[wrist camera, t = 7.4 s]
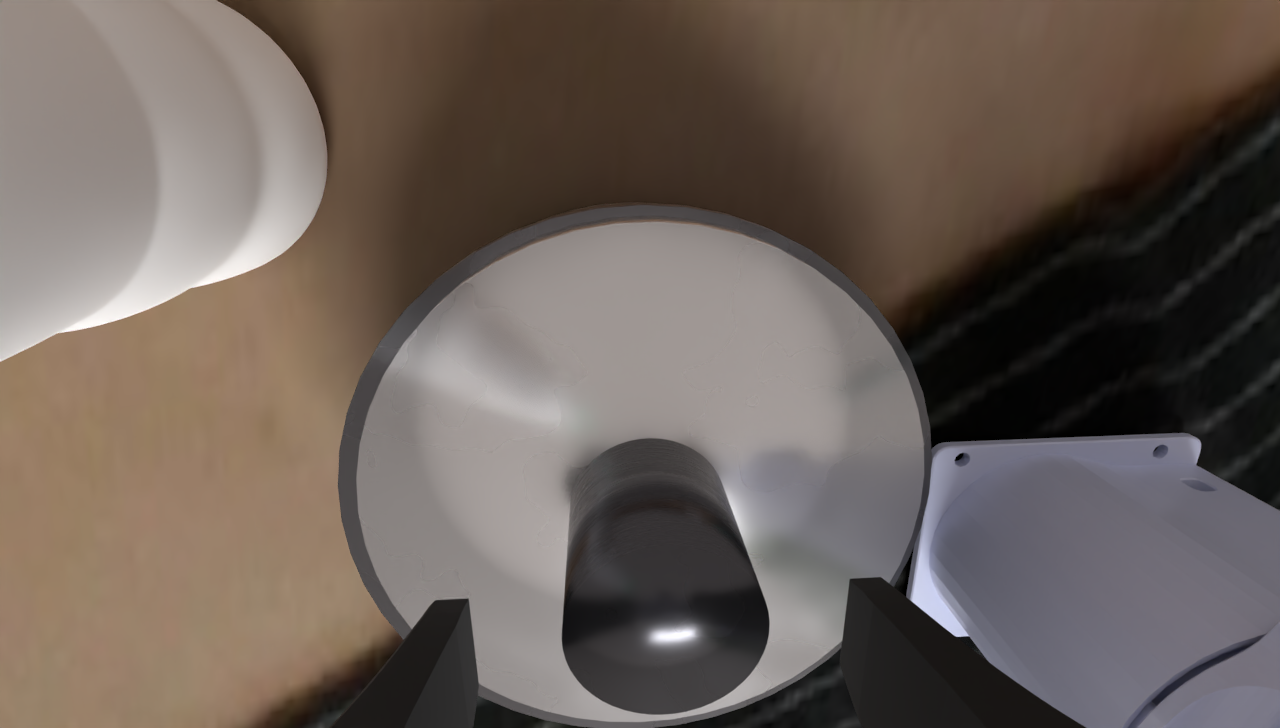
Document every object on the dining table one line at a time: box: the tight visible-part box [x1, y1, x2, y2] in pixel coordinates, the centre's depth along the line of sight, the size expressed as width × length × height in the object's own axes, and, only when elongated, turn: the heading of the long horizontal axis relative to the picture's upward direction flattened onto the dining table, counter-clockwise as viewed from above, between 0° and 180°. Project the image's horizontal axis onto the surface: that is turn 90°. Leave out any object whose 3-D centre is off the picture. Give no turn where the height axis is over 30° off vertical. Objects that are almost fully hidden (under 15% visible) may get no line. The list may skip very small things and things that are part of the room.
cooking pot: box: [338, 202, 932, 728], centre depth 19 cm, size 15×15×5 cm
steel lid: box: [356, 215, 924, 722], centre depth 14 cm, size 13×13×5 cm
